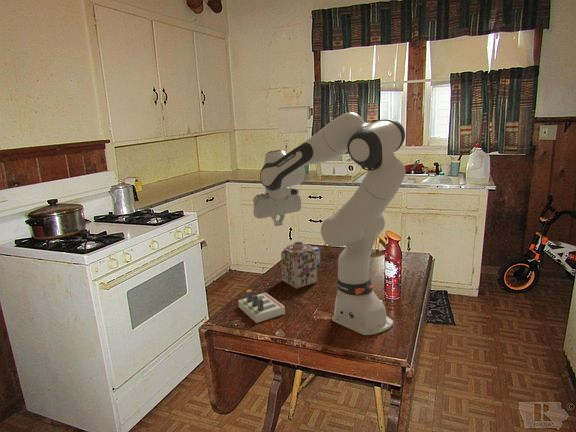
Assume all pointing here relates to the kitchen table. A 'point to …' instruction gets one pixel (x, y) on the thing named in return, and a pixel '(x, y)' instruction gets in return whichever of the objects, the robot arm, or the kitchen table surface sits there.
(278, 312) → the breaker box
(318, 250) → the medicine box
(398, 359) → the kitchen table surface
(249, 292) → the breaker handle
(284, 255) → the decorative jar
